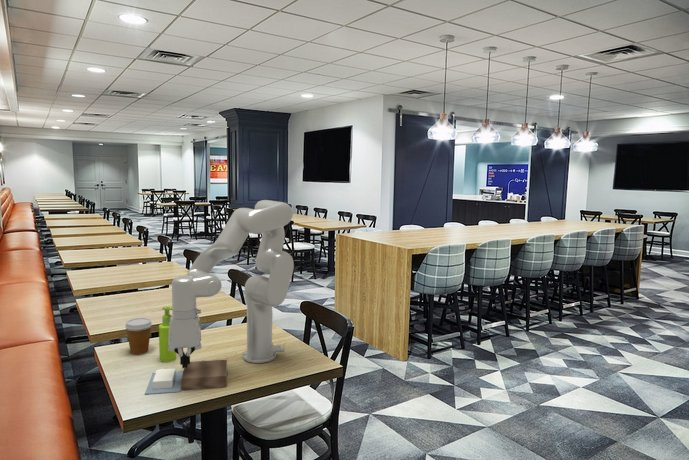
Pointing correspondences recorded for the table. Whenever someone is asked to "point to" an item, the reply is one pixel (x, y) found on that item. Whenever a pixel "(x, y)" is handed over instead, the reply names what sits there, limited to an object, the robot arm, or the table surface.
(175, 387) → the mat
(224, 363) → the brown wooden block
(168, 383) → the tile
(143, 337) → the disposable coffee cup
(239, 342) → the table surface
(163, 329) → the soap dispenser
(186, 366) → the robot arm
